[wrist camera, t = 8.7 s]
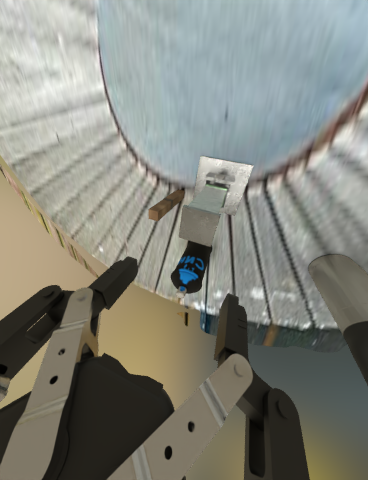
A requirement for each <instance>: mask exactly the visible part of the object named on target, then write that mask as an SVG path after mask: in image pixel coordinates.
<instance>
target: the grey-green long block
mask: <svg viewBox="0 0 368 480" xmlns="http://www.w3.org/2000/svg"><path fill="white" fill-rule="evenodd" d="M226 190H227V187H224V186H219V185H215V184H210V183H208V184H206V186H205V187H204V188H203V189H202V191H201V192H200V193H199V194H198V195H197V196H196V197H195V198H194V200H193V201H192V202H191V203H190V204H189V205H188V206H187V205H184V206H183V209H182V216H181V224H180V232H179V238H183V239H186V240H189V241H193V242H196V243H199V244H202V245H206V246H209V247H211V244H212V241H213V238H214V235H215V231H216V228H217V225H218V222H219V218H220V215H221V214H219V212H220V209H221V207H222V204H223V200H224V197H225V194H226Z"/></svg>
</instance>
